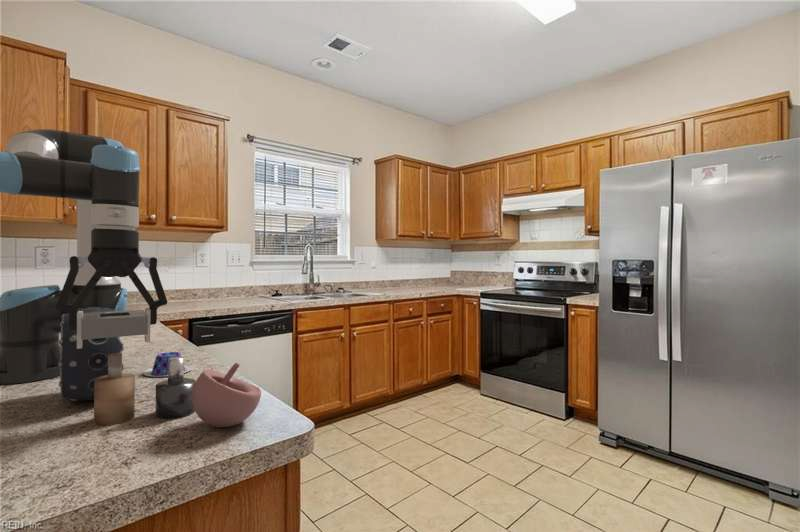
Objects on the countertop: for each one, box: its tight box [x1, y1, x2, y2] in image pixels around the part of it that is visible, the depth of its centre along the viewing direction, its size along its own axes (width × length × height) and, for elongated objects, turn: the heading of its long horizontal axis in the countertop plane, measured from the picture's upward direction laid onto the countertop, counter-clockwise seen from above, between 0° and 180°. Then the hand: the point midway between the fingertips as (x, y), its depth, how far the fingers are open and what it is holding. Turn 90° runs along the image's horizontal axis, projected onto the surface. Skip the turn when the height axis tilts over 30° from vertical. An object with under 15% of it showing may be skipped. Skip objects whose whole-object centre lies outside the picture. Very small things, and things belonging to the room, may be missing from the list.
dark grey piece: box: [58, 307, 125, 402], centre depth 90 cm, size 11×20×20 cm, turn 37°
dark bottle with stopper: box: [155, 356, 196, 420], centre depth 82 cm, size 7×7×11 cm
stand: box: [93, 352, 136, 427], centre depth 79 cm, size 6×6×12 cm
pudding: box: [142, 351, 193, 377], centre depth 112 cm, size 12×12×5 cm
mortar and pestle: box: [192, 362, 262, 428], centre depth 77 cm, size 12×12×12 cm
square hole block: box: [81, 309, 148, 340], centre depth 79 cm, size 10×10×4 cm
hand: (114, 343), depth 79 cm, fingers closed on square hole block, 10 cm apart
